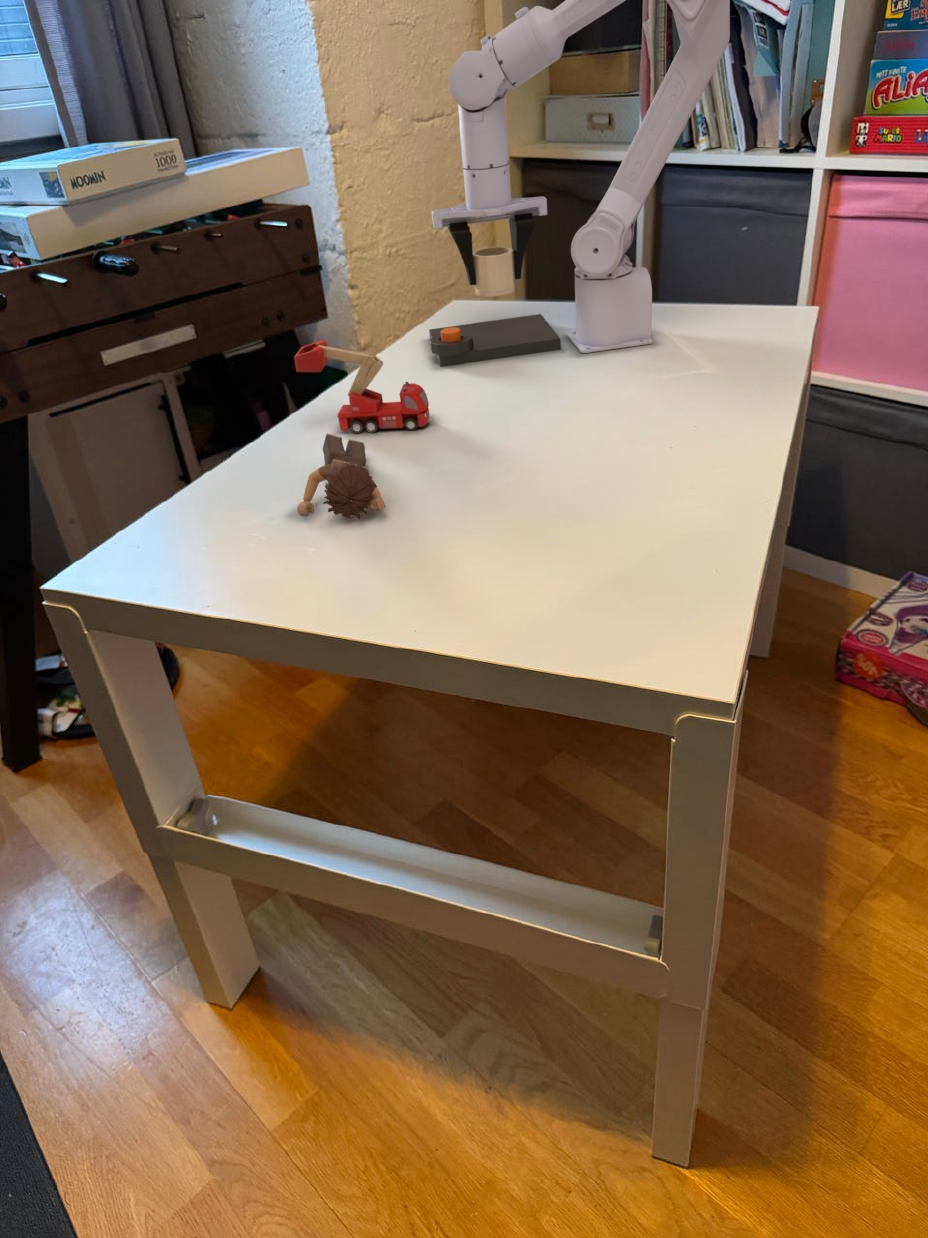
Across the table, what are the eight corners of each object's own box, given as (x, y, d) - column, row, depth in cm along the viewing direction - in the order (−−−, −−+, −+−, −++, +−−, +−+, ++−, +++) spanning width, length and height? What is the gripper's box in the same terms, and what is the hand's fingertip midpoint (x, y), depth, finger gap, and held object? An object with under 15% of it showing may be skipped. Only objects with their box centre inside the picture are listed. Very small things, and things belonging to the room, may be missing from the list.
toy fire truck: (428, 430, 97) (418, 343, 92) (309, 436, 99) (291, 351, 94) (432, 418, 100) (422, 333, 95) (315, 424, 102) (299, 341, 96)
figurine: (302, 487, 93) (304, 545, 80) (283, 441, 90) (282, 493, 77) (375, 462, 93) (388, 517, 80) (358, 415, 90) (369, 463, 77)
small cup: (511, 283, 119) (508, 244, 117) (519, 293, 115) (517, 252, 112) (472, 288, 119) (468, 249, 116) (478, 298, 115) (475, 258, 112)
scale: (541, 325, 125) (540, 303, 123) (562, 352, 115) (561, 328, 113) (424, 341, 124) (422, 319, 122) (435, 370, 113) (432, 347, 112)
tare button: (459, 336, 116) (458, 325, 115) (462, 342, 113) (461, 331, 113) (440, 339, 115) (439, 328, 115) (442, 344, 113) (441, 334, 113)
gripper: (431, 177, 105) (443, 294, 112) (550, 162, 106) (554, 279, 113) (425, 169, 111) (437, 281, 118) (538, 155, 111) (543, 267, 119)
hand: (494, 280), depth 116 cm, fingers closed on small cup, 5 cm apart
